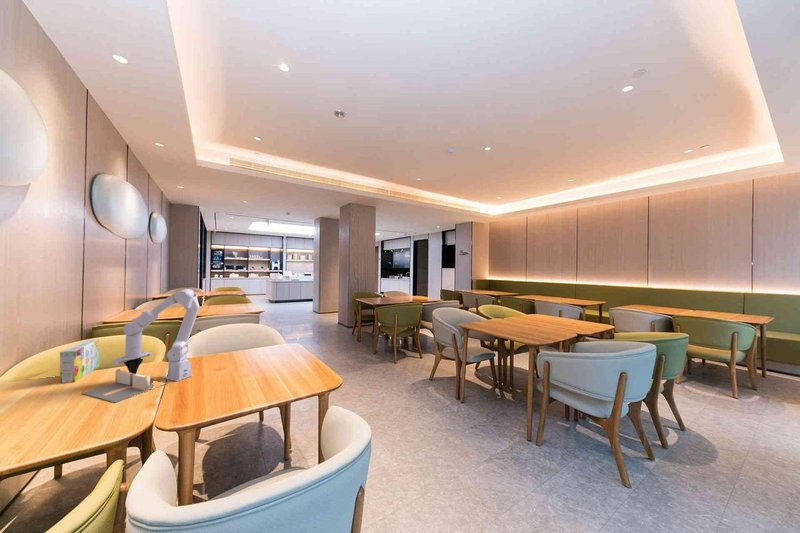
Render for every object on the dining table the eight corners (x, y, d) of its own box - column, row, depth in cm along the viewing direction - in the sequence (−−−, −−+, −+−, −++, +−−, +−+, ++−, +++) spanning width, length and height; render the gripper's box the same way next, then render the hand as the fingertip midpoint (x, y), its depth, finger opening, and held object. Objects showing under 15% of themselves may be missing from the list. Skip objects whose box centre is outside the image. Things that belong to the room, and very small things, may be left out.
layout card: (167, 383, 135) (168, 382, 135) (115, 402, 116) (115, 401, 116) (136, 376, 142) (136, 375, 142) (81, 393, 122) (81, 392, 122)
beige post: (135, 384, 131) (135, 372, 131) (131, 385, 130) (131, 373, 130) (118, 380, 135) (119, 369, 135) (114, 381, 133) (114, 370, 133)
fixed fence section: (150, 389, 128) (150, 375, 128) (146, 390, 127) (146, 377, 127) (136, 385, 131) (136, 372, 131) (131, 387, 130) (132, 374, 129)
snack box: (85, 368, 150) (86, 339, 150) (99, 366, 153) (100, 338, 153) (58, 384, 131) (59, 351, 131) (75, 382, 133) (76, 350, 133)
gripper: (145, 341, 145) (144, 368, 145) (109, 349, 131) (108, 379, 131) (155, 343, 143) (154, 370, 143) (119, 351, 129) (118, 381, 129)
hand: (132, 374), depth 137 cm, fingers closed
